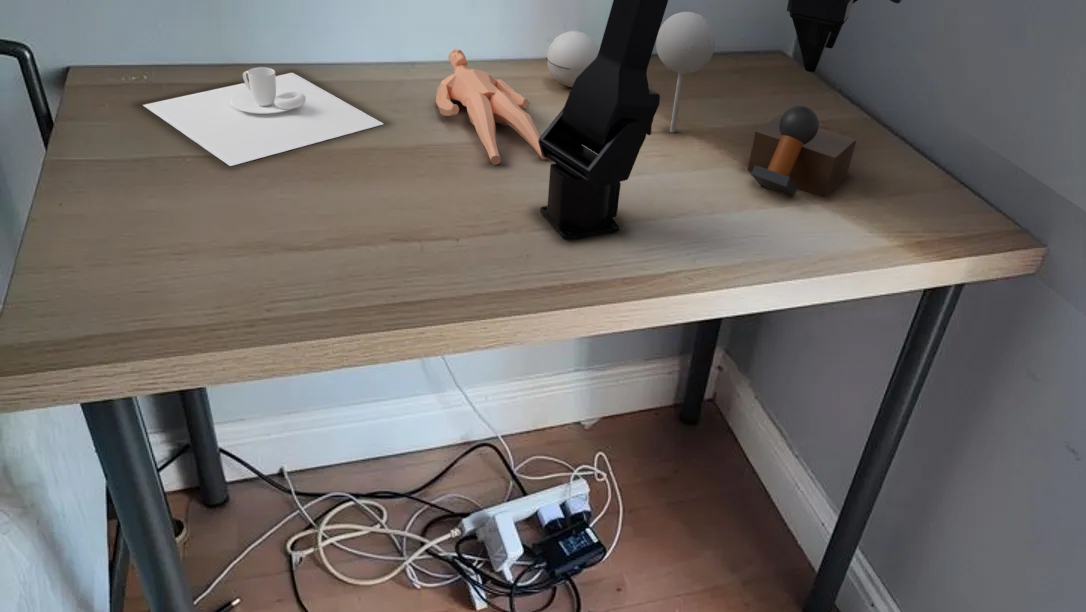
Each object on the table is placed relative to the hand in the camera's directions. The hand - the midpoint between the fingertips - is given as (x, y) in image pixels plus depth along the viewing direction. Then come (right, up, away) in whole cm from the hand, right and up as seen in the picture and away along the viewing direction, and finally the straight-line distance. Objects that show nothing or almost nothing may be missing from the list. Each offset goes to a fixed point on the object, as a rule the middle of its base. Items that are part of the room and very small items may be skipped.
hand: (819, 59), depth 111 cm
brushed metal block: (-2, -13, +3) cm, 13 cm away
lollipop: (-16, -6, +10) cm, 20 cm away
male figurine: (-40, -6, +7) cm, 41 cm away
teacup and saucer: (-66, -6, +2) cm, 66 cm away
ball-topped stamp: (-5, -15, -1) cm, 16 cm away
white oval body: (-29, +1, +19) cm, 35 cm away
